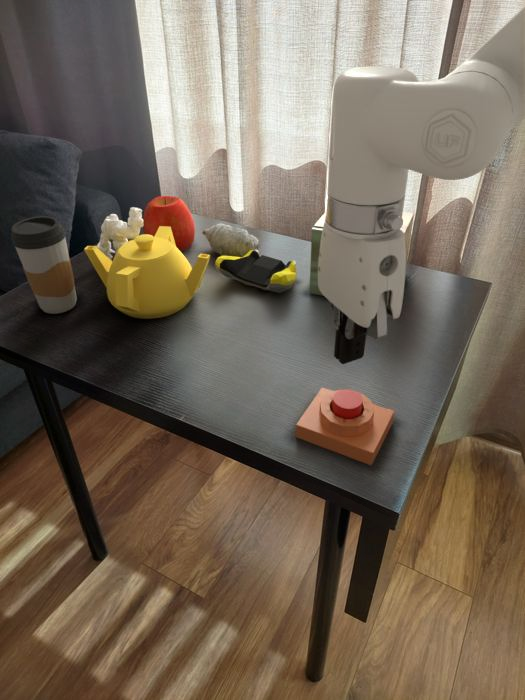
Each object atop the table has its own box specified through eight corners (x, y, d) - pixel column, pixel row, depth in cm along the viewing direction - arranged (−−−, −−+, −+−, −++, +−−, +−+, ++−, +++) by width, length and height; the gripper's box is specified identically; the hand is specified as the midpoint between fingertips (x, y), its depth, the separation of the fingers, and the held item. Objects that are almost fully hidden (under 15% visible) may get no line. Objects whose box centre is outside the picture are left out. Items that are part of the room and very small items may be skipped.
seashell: (215, 226, 112) (217, 198, 105) (261, 264, 108) (267, 238, 101) (193, 241, 109) (194, 214, 102) (240, 281, 105) (245, 255, 99)
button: (365, 405, 65) (367, 394, 64) (355, 423, 63) (356, 412, 62) (338, 396, 67) (339, 385, 65) (327, 413, 64) (328, 402, 63)
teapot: (126, 336, 84) (111, 270, 77) (92, 293, 96) (77, 232, 89) (217, 305, 92) (212, 242, 84) (176, 268, 103) (168, 210, 96)
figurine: (154, 263, 105) (144, 205, 98) (144, 275, 101) (134, 216, 94) (106, 259, 107) (93, 202, 99) (95, 271, 103) (81, 212, 95)
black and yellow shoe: (280, 308, 90) (309, 283, 97) (280, 280, 87) (310, 256, 94) (212, 285, 97) (243, 263, 104) (209, 258, 94) (242, 238, 101)
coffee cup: (63, 288, 97) (41, 211, 89) (93, 301, 93) (73, 221, 85) (24, 308, 92) (-3, 228, 83) (53, 322, 88) (28, 240, 79)
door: (384, 324, 86) (394, 255, 78) (300, 307, 90) (301, 241, 83) (391, 306, 90) (401, 239, 83) (310, 291, 94) (313, 227, 87)
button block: (392, 423, 68) (396, 400, 65) (371, 465, 62) (375, 442, 60) (321, 399, 72) (322, 376, 69) (295, 437, 66) (296, 414, 64)
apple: (135, 246, 111) (127, 197, 105) (176, 230, 117) (170, 183, 111) (166, 262, 105) (158, 211, 99) (207, 244, 111) (203, 195, 105)
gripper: (446, 230, 47) (414, 384, 58) (352, 181, 58) (340, 319, 69) (378, 247, 45) (358, 405, 56) (293, 193, 56) (290, 334, 67)
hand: (348, 357), depth 62 cm, fingers closed
